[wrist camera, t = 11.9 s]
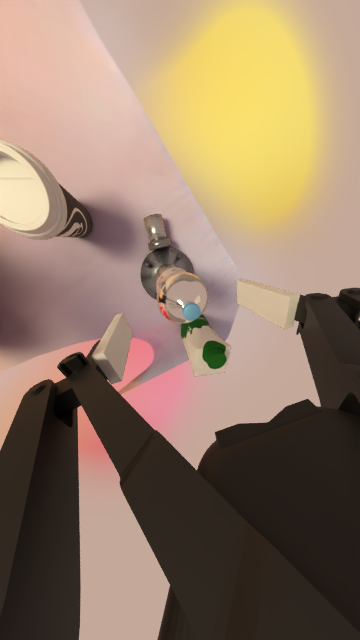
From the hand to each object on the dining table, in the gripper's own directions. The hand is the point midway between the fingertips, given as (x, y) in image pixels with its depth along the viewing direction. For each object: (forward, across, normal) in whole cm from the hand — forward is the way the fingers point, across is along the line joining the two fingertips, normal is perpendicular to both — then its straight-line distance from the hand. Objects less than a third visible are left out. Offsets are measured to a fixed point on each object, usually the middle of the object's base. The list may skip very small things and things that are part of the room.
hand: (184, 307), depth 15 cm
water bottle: (+23, +1, 0) cm, 23 cm away
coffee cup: (+25, -15, +16) cm, 33 cm away
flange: (+24, +1, +3) cm, 25 cm away
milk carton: (+24, +4, -17) cm, 30 cm away
